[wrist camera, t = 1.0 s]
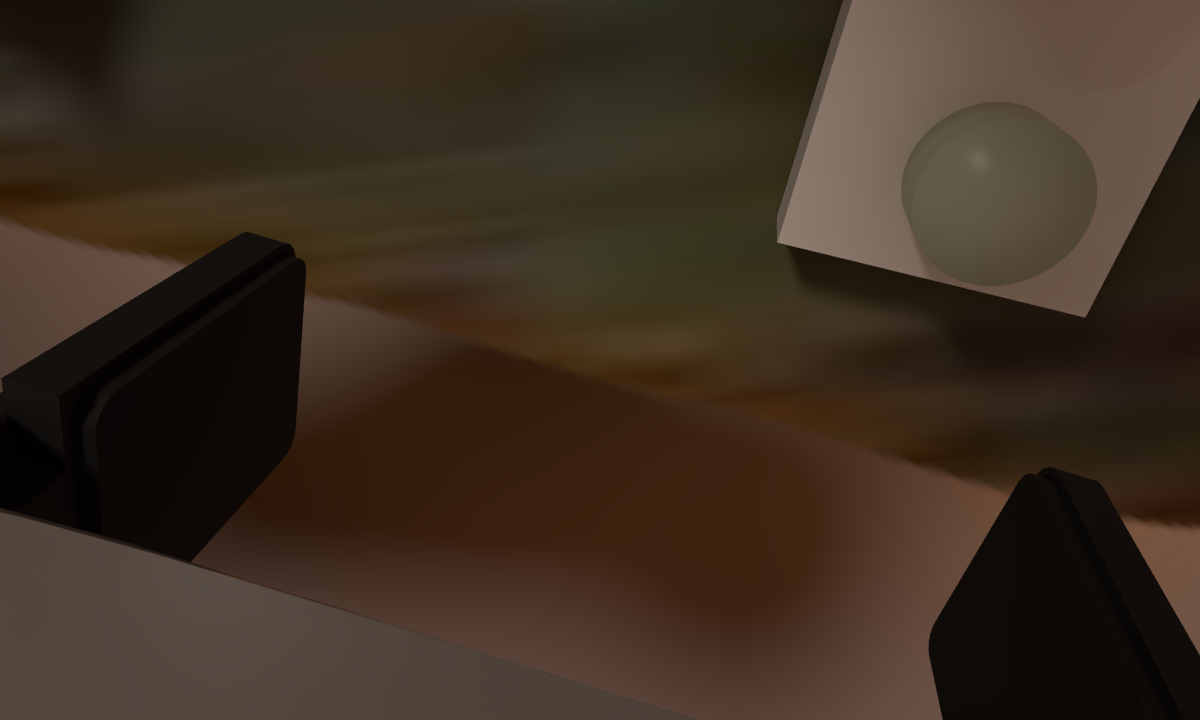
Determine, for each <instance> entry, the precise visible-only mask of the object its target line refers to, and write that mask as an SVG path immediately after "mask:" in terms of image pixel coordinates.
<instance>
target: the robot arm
mask: <svg viewBox="0 0 1200 720" xmlns="http://www.w3.org/2000/svg"><path fill="white" fill-rule="evenodd" d="M305 281H306V266H305V263H304V261H303V260H302V259H298V258H295V252H294V249H293V247H292V246H291V245H290V244H287V243H283V242H280V241H276V240H273V239H269V238H266V237H263V236H259V235H256V234H252V233H249V232H245V233H242V234H240V235H238V236H236V237H235V238H233V239H231V240H230V241H228V242H226V243H225V244H223V245H222V246H220V247H218V248H217V249H215V250H213V251H212V252H210V253H208V254H207V255H205V256H203V257H202V258H200V259H198V260H197V261H195V262H193V263H192V264H190V265H188V266H187V267H185V268H183V269H182V270H180V271H178V272H177V273H175V274H173V275H172V276H170V277H169V278H167V279H165V280H164V281H162V282H160V283H159V284H157V285H155V286H154V287H152V288H150V289H149V290H147V291H145V292H144V293H142V294H141V295H139V296H137V297H135V298H134V299H132V300H130V301H129V302H127V303H125V304H124V305H122V306H121V307H119V308H117V309H115V310H114V311H112V312H111V313H109V314H107V315H106V316H104V317H102V318H101V319H99V320H97V321H96V322H94V323H92V324H91V325H89V326H87V327H86V328H84V329H83V330H81V331H79V332H77V333H76V334H74V335H72V336H71V337H69V338H67V339H66V340H64V341H62V342H61V343H59V344H58V345H56V346H54V347H53V348H51V349H49V350H48V351H46V352H44V353H43V354H41V355H40V356H38V357H36V358H34V359H33V360H31V361H29V362H28V363H26V364H25V365H23V366H21V367H19V368H18V369H16V370H14V371H13V372H11V373H9V374H8V375H6V376H4V377H3V378H1V379H2V387H3V392H1V393H0V720H697V719H694V718H691V717H688V716H684V715H681V714H678V713H675V712H672V711H668V710H665V709H662V708H659V707H656V706H652V705H649V704H646V703H643V702H640V701H636V700H633V699H630V698H627V697H623V696H621V695H617V694H614V693H611V692H608V691H604V690H601V689H598V688H594V687H591V686H588V685H585V684H582V683H579V682H576V681H572V680H569V679H566V678H563V677H560V676H556V675H553V674H550V673H547V672H543V671H540V670H537V669H534V668H531V667H528V666H525V665H521V664H518V663H515V662H512V661H508V660H505V659H502V658H499V657H496V656H492V655H489V654H486V653H483V652H480V651H477V650H473V649H470V648H467V647H464V646H461V645H457V644H454V643H451V642H448V641H445V640H441V639H438V638H435V637H432V636H429V635H425V634H422V633H419V632H416V631H412V630H409V629H406V628H403V627H400V626H397V625H393V624H390V623H387V622H384V621H380V620H377V619H374V618H371V617H368V616H365V615H362V614H358V613H355V612H352V611H349V610H345V609H342V608H339V607H336V606H332V605H329V604H326V603H323V602H319V601H316V600H312V599H309V598H306V597H303V596H300V595H296V594H293V593H290V592H286V591H283V590H280V589H277V588H274V587H270V586H267V585H263V584H260V583H257V582H254V581H251V580H247V579H244V578H241V577H238V576H234V575H231V574H228V573H224V572H221V571H218V570H215V569H212V568H208V567H205V566H202V565H199V564H195V563H192V562H191V561H192V560H193V559H194V558H195V557H196V555H197V554H198V553H199V552H200V551H201V550H202V549H203V548H204V547H205V545H206V544H207V543H208V542H209V541H210V540H211V539H212V538H213V536H214V535H215V534H216V533H217V532H218V531H219V530H220V529H221V528H222V526H223V525H224V524H225V523H226V522H227V521H228V520H229V519H230V518H231V516H232V515H233V514H234V513H235V512H236V511H237V510H238V509H239V508H240V506H241V505H242V504H243V503H244V502H245V501H246V500H247V499H248V497H249V496H250V495H251V494H252V493H253V492H254V491H255V490H256V489H257V487H258V486H259V485H260V484H261V483H262V482H263V481H264V480H265V479H266V477H267V476H268V475H269V474H270V473H271V472H272V471H273V469H274V468H275V467H276V466H277V465H278V464H279V463H280V461H282V460H283V458H284V457H285V456H286V454H287V453H288V451H289V449H290V447H291V445H292V442H293V438H294V435H295V429H296V415H297V400H298V385H299V384H298V383H299V370H300V355H301V340H302V326H303V311H304V296H305ZM929 657H930V662H931V666H932V671H933V675H934V680H935V685H936V690H937V694H938V699H939V704H940V709H941V713H942V718H943V720H1200V655H1199V653H1198V651H1197V650H1196V648H1195V646H1194V645H1193V643H1192V641H1191V639H1190V638H1189V636H1188V634H1187V633H1186V631H1185V629H1184V627H1183V625H1182V624H1181V622H1180V620H1179V618H1178V617H1177V615H1176V613H1175V612H1174V610H1173V608H1172V606H1171V605H1170V603H1169V601H1168V599H1167V598H1166V596H1165V594H1164V592H1163V591H1162V589H1161V587H1160V585H1159V584H1158V582H1157V580H1156V579H1155V577H1154V575H1153V573H1152V572H1151V570H1150V568H1149V566H1148V565H1147V563H1146V562H1145V559H1144V558H1143V556H1142V554H1141V552H1140V551H1139V549H1138V547H1137V546H1136V544H1135V542H1134V540H1133V539H1132V537H1131V535H1130V533H1129V532H1128V530H1127V528H1126V526H1125V525H1124V523H1123V521H1122V520H1121V518H1120V516H1119V514H1118V513H1117V511H1116V509H1115V507H1114V506H1113V504H1112V502H1111V500H1110V499H1109V497H1108V495H1107V493H1106V492H1105V490H1104V488H1103V487H1102V485H1101V484H1100V483H1099V482H1098V481H1095V480H1092V479H1089V478H1085V477H1082V476H1078V475H1075V474H1072V473H1068V472H1065V471H1061V470H1058V469H1055V468H1051V467H1048V468H1044V469H1043V470H1041V471H1040V472H1039V473H1038V474H1037V475H1034V474H1031V473H1029V474H1026V475H1025V476H1023V477H1022V478H1021V480H1020V481H1019V482H1018V484H1017V485H1016V487H1015V489H1014V490H1013V492H1012V494H1011V495H1010V497H1009V499H1008V501H1007V502H1006V504H1005V506H1004V507H1003V509H1002V511H1001V512H1000V514H999V516H998V517H997V519H996V521H995V523H994V524H993V526H992V527H991V529H990V531H989V532H988V534H987V536H986V538H985V539H984V541H983V543H982V544H981V546H980V548H979V549H978V551H977V553H976V555H975V556H974V558H973V559H972V561H971V563H970V564H969V566H968V568H967V570H966V571H965V573H964V575H963V576H962V578H961V580H960V581H959V583H958V585H957V586H956V588H955V590H954V591H953V593H952V595H951V596H950V598H949V600H948V601H947V603H946V605H945V607H944V608H943V610H942V612H941V613H940V615H939V617H938V618H937V620H936V622H935V623H934V626H933V628H932V631H931V634H930V639H929Z"/></svg>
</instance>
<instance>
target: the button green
mask: <svg viewBox="0 0 1200 720" xmlns="http://www.w3.org/2000/svg"><path fill="white" fill-rule="evenodd" d="M901 198H902V205H903V209H904V212H905V215H906V217H907V219H908V222H909V224H910V226H911V228H912V231H913V233H914V235H915V237H916V240H917V242H918V244H919V246H920V248H921V250H922V251H923V253H924V255H925V256H926V257H927V258H928V260H929V261H930V262H931V263H932V264H933V265H934V266H935V267H937V268H938V269H939V270H940V271H942V272H943V273H945V274H946V275H948V276H950V277H952V278H954V279H956V280H959V281H962V282H965V283H968V284H974V285H979V286H1003V285H1009V284H1015V283H1018V282H1022V281H1026V280H1028V279H1031V278H1033V277H1036V276H1038V275H1040V274H1042V273H1043V272H1045V271H1047V270H1049V269H1050V268H1052V267H1053V266H1055V265H1056V264H1058V263H1059V262H1060V261H1061V260H1063V259H1064V258H1065V257H1066V256H1067V255H1068V254H1069V253H1070V252H1071V251H1072V250H1073V249H1074V248H1075V247H1076V245H1077V244H1078V243H1079V241H1080V240H1081V239H1082V237H1083V236H1084V234H1085V232H1086V231H1087V229H1088V227H1089V225H1090V222H1091V220H1092V218H1093V215H1094V211H1095V207H1096V202H1097V179H1096V174H1095V170H1094V167H1093V165H1092V162H1091V160H1090V158H1089V156H1088V155H1087V153H1086V151H1085V150H1084V149H1083V148H1082V146H1081V145H1080V144H1079V143H1078V142H1077V141H1076V140H1075V139H1074V138H1073V137H1072V136H1070V135H1069V134H1068V133H1066V132H1065V131H1064V130H1062V129H1061V128H1060V127H1058V126H1057V125H1055V124H1054V123H1053V122H1051V121H1050V120H1049V119H1047V118H1046V117H1044V116H1043V115H1041V114H1040V113H1038V112H1037V111H1035V110H1032V109H1030V108H1028V107H1025V106H1022V105H1018V104H1013V103H1007V102H990V103H982V104H977V105H973V106H969V107H967V108H964V109H961V110H959V111H957V112H955V113H952V114H950V115H949V116H947V117H946V118H944V119H942V120H941V121H939V122H938V123H937V124H936V125H934V126H933V127H932V128H931V129H930V130H929V131H928V132H927V133H926V134H925V135H924V136H923V137H922V138H921V139H920V141H919V142H918V143H917V145H916V146H915V148H914V149H913V151H912V153H911V154H910V156H909V159H908V161H907V163H906V166H905V169H904V172H903V177H902V183H901Z"/></svg>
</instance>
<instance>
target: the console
mask: <svg viewBox="0 0 1200 720" xmlns="http://www.w3.org/2000/svg"><path fill="white" fill-rule="evenodd" d="M1199 98H1200V0H843V2H842V5H841V8H840V12H839V15H838V18H837V22H836V25H835V28H834V31H833V35H832V38H831V41H830V44H829V48H828V51H827V54H826V58H825V61H824V64H823V67H822V71H821V74H820V77H819V81H818V84H817V87H816V90H815V94H814V97H813V100H812V103H811V107H810V110H809V113H808V117H807V120H806V123H805V126H804V130H803V133H802V136H801V140H800V143H799V146H798V149H797V153H796V156H795V159H794V162H793V166H792V169H791V172H790V176H789V179H788V182H787V185H786V189H785V192H784V195H783V199H782V202H781V205H780V208H779V212H778V215H777V242H778V243H782V244H786V245H790V246H794V247H798V248H802V249H806V250H810V251H815V252H819V253H823V254H827V255H831V256H835V257H839V258H843V259H847V260H851V261H856V262H860V263H864V264H868V265H872V266H876V267H880V268H884V269H888V270H893V271H897V272H901V273H905V274H909V275H913V276H917V277H921V278H925V279H929V280H934V281H938V282H942V283H946V284H950V285H954V286H958V287H962V288H966V289H970V290H975V291H979V292H983V293H987V294H991V295H995V296H999V297H1003V298H1007V299H1012V300H1016V301H1020V302H1024V303H1028V304H1032V305H1036V306H1040V307H1044V308H1048V309H1053V310H1057V311H1061V312H1065V313H1069V314H1073V315H1077V316H1081V317H1086V315H1087V313H1088V312H1089V310H1090V308H1091V306H1092V304H1093V302H1094V300H1095V298H1096V296H1097V294H1098V292H1099V290H1100V288H1101V287H1102V285H1103V283H1104V281H1105V279H1106V277H1107V275H1108V273H1109V271H1110V269H1111V267H1112V265H1113V263H1114V262H1115V260H1116V258H1117V256H1118V254H1119V252H1120V250H1121V248H1122V246H1123V244H1124V242H1125V240H1126V238H1127V237H1128V235H1129V233H1130V231H1131V229H1132V227H1133V225H1134V223H1135V221H1136V219H1137V217H1138V215H1139V213H1140V212H1141V210H1142V208H1143V206H1144V204H1145V202H1146V200H1147V198H1148V196H1149V194H1150V192H1151V190H1152V188H1153V187H1154V185H1155V183H1156V181H1157V179H1158V177H1159V175H1160V173H1161V171H1162V169H1163V167H1164V165H1165V163H1166V162H1167V160H1168V158H1169V156H1170V154H1171V152H1172V150H1173V148H1174V146H1175V144H1176V142H1177V140H1178V138H1179V137H1180V135H1181V133H1182V131H1183V129H1184V127H1185V125H1186V123H1187V121H1188V119H1189V117H1190V115H1191V113H1192V112H1193V110H1194V108H1195V106H1196V104H1197V102H1198V100H1199ZM990 102H1007V103H1013V104H1018V105H1022V106H1025V107H1028V108H1030V109H1032V110H1035V111H1037V112H1038V113H1040V114H1041V115H1043V116H1044V117H1046V118H1047V119H1049V120H1050V121H1051V122H1053V123H1054V124H1055V125H1057V126H1058V127H1060V128H1061V129H1062V130H1064V131H1065V132H1066V133H1068V134H1069V135H1070V136H1072V137H1073V138H1074V139H1075V140H1076V141H1077V142H1078V143H1079V144H1080V145H1081V146H1082V148H1083V149H1084V150H1085V151H1086V153H1087V155H1088V156H1089V158H1090V160H1091V162H1092V165H1093V167H1094V170H1095V174H1096V179H1097V202H1096V207H1095V211H1094V215H1093V218H1092V220H1091V222H1090V225H1089V227H1088V229H1087V231H1086V232H1085V234H1084V236H1083V237H1082V239H1081V240H1080V241H1079V243H1078V244H1077V245H1076V247H1075V248H1074V249H1073V250H1072V251H1071V252H1070V253H1069V254H1068V255H1067V256H1066V257H1065V258H1064V259H1063V260H1061V261H1060V262H1059V263H1058V264H1056V265H1055V266H1053V267H1052V268H1050V269H1049V270H1047V271H1045V272H1043V273H1042V274H1040V275H1038V276H1036V277H1033V278H1031V279H1028V280H1026V281H1022V282H1018V283H1015V284H1009V285H1003V286H979V285H974V284H968V283H965V282H962V281H959V280H956V279H954V278H952V277H950V276H948V275H946V274H945V273H943V272H942V271H940V270H939V269H938V268H937V267H935V266H934V265H933V264H932V263H931V262H930V261H929V260H928V258H927V257H926V256H925V255H924V253H923V251H922V250H921V248H920V246H919V244H918V242H917V240H916V237H915V235H914V233H913V231H912V228H911V226H910V224H909V222H908V219H907V217H906V215H905V212H904V209H903V205H902V198H901V183H902V177H903V172H904V169H905V166H906V163H907V161H908V159H909V156H910V154H911V153H912V151H913V149H914V148H915V146H916V145H917V143H918V142H919V141H920V139H921V138H922V137H923V136H924V135H925V134H926V133H927V132H928V131H929V130H930V129H931V128H932V127H933V126H934V125H936V124H937V123H938V122H939V121H941V120H942V119H944V118H946V117H947V116H949V115H950V114H952V113H955V112H957V111H959V110H961V109H964V108H967V107H969V106H973V105H977V104H982V103H990Z"/></svg>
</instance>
